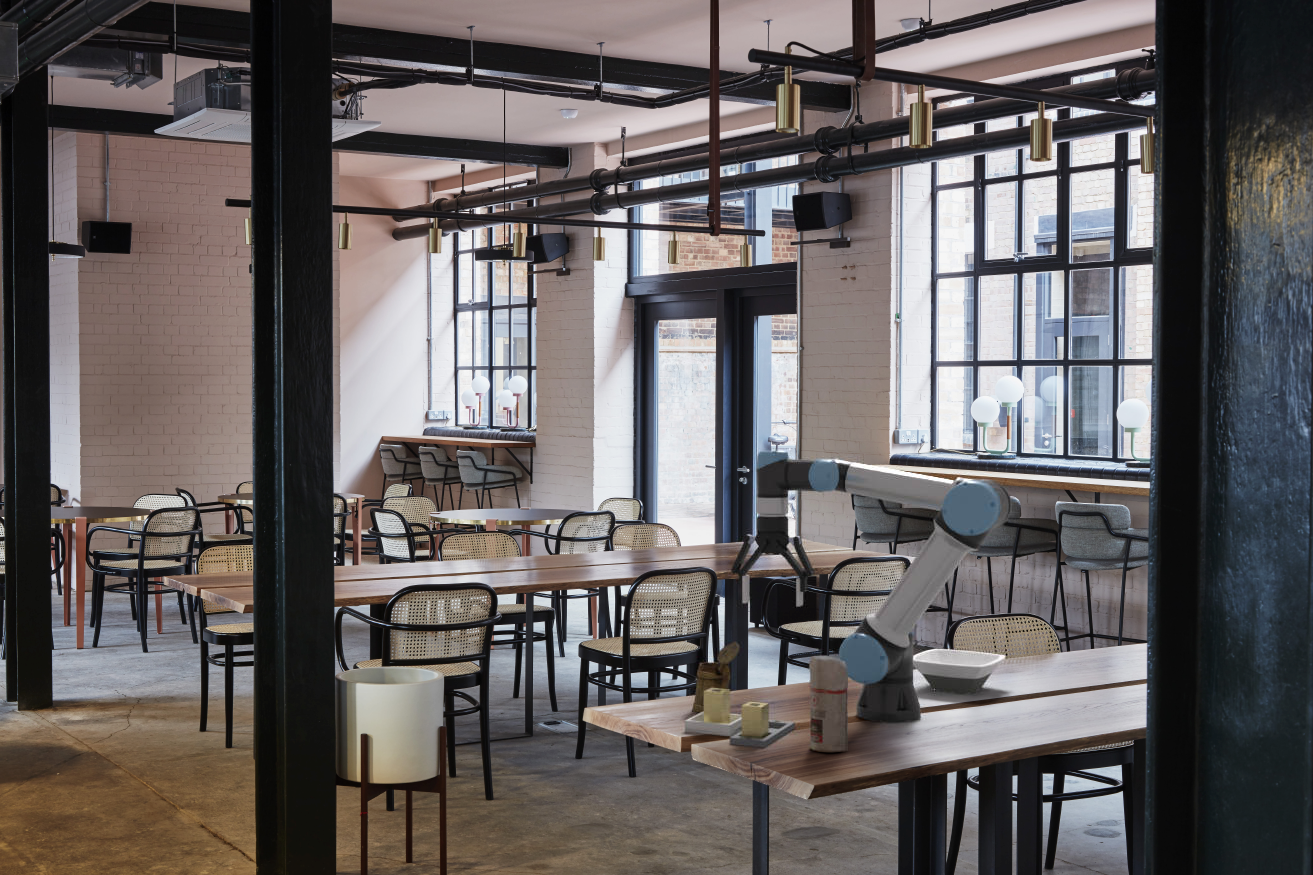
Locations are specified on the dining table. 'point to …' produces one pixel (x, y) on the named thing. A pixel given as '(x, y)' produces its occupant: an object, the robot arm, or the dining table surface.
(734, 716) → the tray
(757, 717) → the brass nut
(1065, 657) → the dining table surface
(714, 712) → the brass nut
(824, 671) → the spray can
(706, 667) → the wooden mug
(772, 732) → the gray rectangular tray
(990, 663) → the bowl
